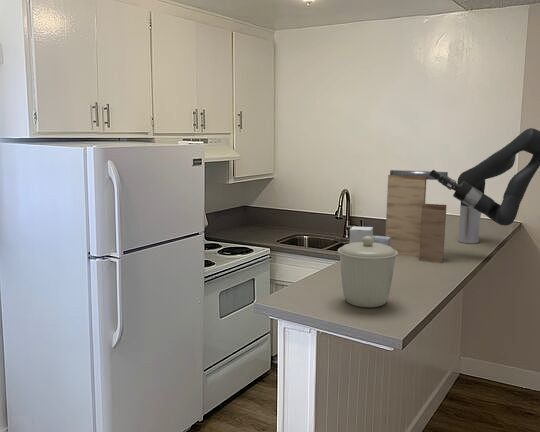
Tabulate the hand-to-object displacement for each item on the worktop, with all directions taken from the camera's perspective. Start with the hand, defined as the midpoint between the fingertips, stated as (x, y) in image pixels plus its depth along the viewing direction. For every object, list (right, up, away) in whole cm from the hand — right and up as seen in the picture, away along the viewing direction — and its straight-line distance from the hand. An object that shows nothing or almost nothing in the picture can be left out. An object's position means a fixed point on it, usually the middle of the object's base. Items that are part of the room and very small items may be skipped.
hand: (431, 172), depth 230 cm
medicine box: (-21, -36, +1) cm, 41 cm away
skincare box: (-32, -38, -15) cm, 52 cm away
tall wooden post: (-1, -36, -2) cm, 36 cm away
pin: (-5, -3, +2) cm, 6 cm away
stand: (-9, -34, +9) cm, 36 cm away
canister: (-37, -45, -57) cm, 82 cm away
